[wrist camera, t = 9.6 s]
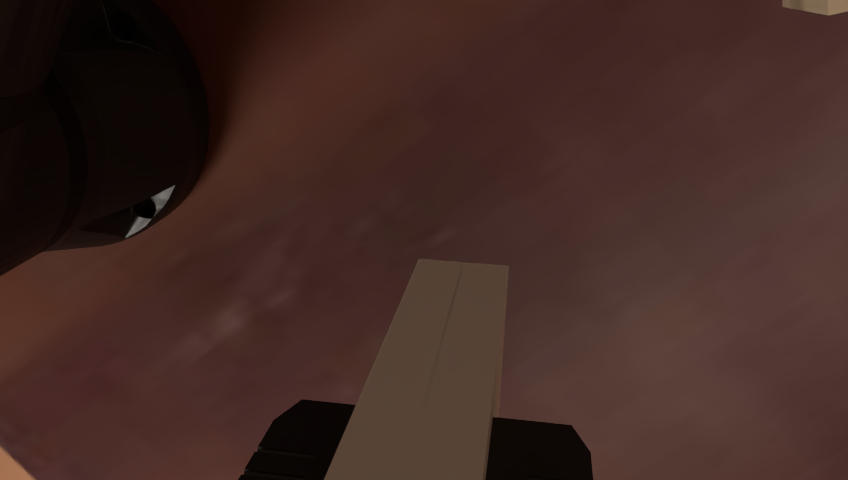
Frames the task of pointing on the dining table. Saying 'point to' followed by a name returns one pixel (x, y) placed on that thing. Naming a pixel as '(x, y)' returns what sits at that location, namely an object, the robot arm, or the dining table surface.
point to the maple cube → (818, 6)
